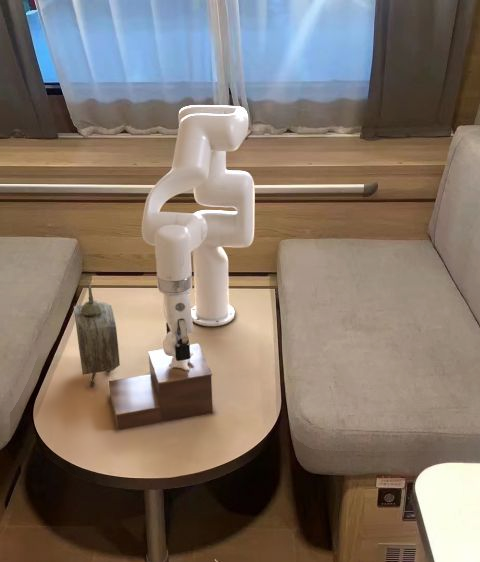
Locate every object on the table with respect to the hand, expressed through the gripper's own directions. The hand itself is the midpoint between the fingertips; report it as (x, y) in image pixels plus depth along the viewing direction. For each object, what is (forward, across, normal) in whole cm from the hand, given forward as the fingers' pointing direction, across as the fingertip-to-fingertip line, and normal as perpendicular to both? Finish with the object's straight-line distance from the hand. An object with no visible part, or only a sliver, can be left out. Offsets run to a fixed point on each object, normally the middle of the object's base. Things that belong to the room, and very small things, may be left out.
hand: (178, 347), depth 172 cm
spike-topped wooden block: (+15, +17, +17) cm, 28 cm away
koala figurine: (+4, -1, 0) cm, 4 cm away
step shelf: (+15, 0, +5) cm, 16 cm away
